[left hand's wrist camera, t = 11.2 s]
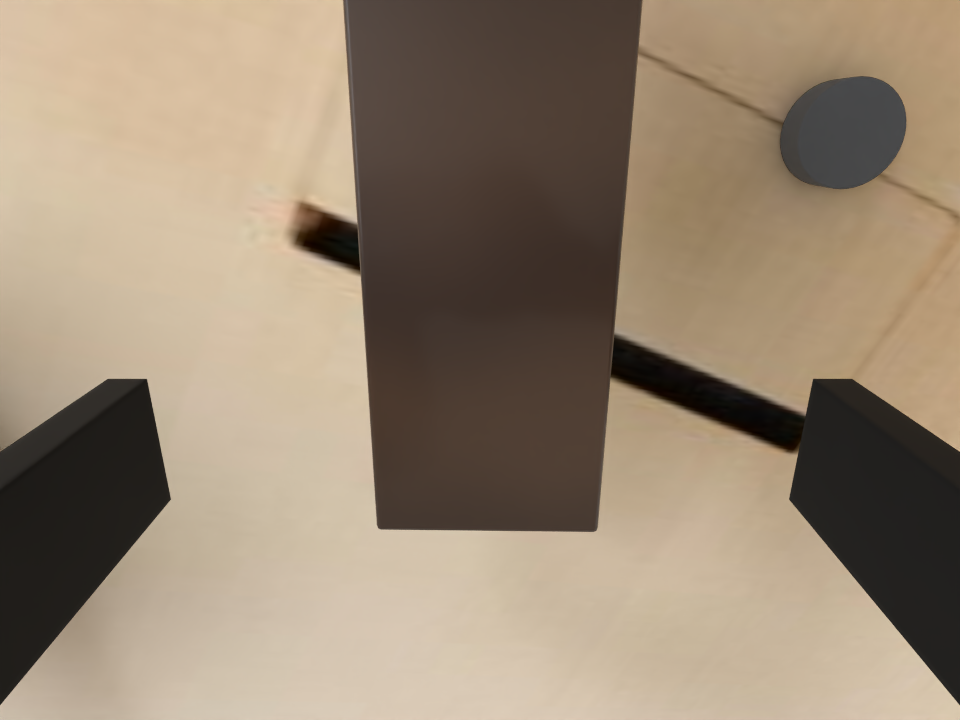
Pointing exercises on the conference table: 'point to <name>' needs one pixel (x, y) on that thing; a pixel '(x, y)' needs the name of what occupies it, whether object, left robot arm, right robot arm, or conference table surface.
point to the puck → (843, 132)
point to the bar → (490, 251)
